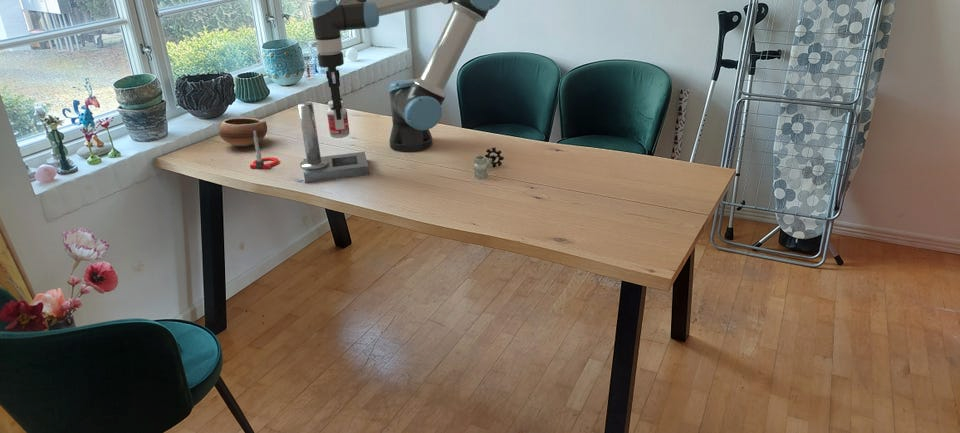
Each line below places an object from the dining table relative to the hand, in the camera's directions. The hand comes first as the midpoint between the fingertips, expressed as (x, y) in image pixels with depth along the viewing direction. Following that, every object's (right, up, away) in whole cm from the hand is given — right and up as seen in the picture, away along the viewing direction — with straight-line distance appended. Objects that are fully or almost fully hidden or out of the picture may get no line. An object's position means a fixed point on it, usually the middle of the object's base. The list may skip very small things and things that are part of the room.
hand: (339, 125), depth 216 cm
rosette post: (-3, -14, +6) cm, 15 cm away
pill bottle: (0, -3, +2) cm, 3 cm away
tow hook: (-28, -11, +15) cm, 34 cm away
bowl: (-41, -3, +34) cm, 53 cm away
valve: (+46, -15, -1) cm, 49 cm away
